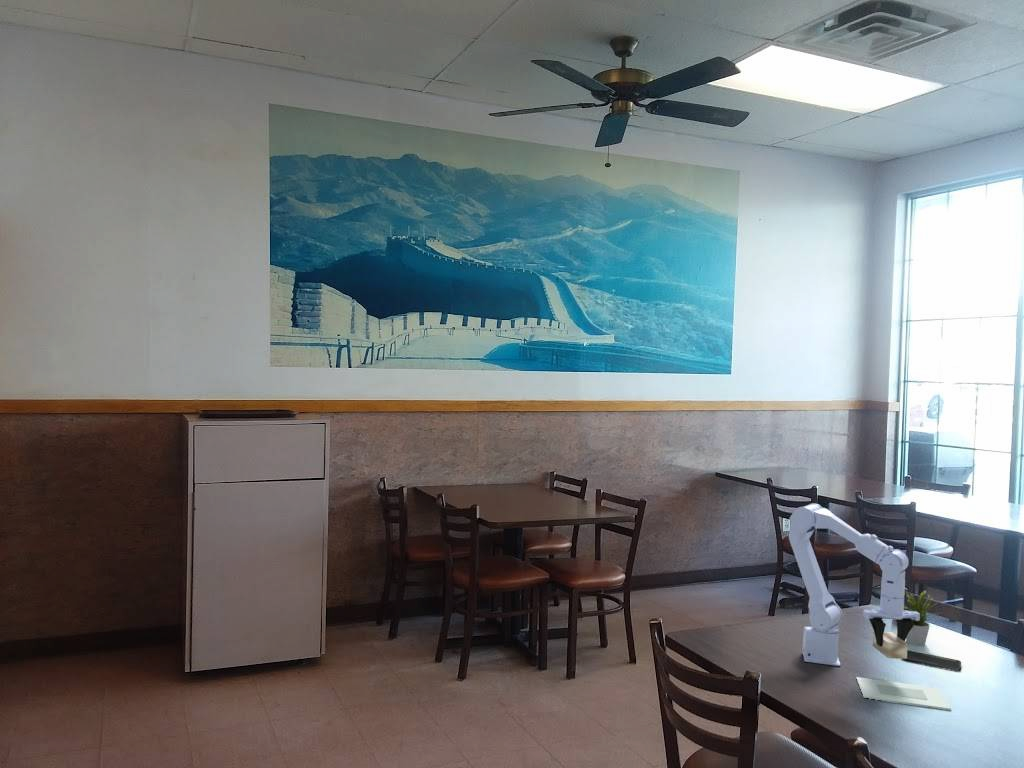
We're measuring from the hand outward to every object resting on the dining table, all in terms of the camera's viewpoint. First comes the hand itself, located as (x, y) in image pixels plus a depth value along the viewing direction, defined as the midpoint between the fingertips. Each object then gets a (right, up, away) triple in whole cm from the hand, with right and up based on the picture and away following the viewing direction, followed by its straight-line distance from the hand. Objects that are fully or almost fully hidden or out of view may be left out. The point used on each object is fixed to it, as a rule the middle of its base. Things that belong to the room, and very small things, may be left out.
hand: (889, 645), depth 217 cm
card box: (0, -2, 0) cm, 2 cm away
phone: (+18, -10, +14) cm, 25 cm away
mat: (-2, -9, -10) cm, 14 cm away
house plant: (+22, -9, +30) cm, 38 cm away
